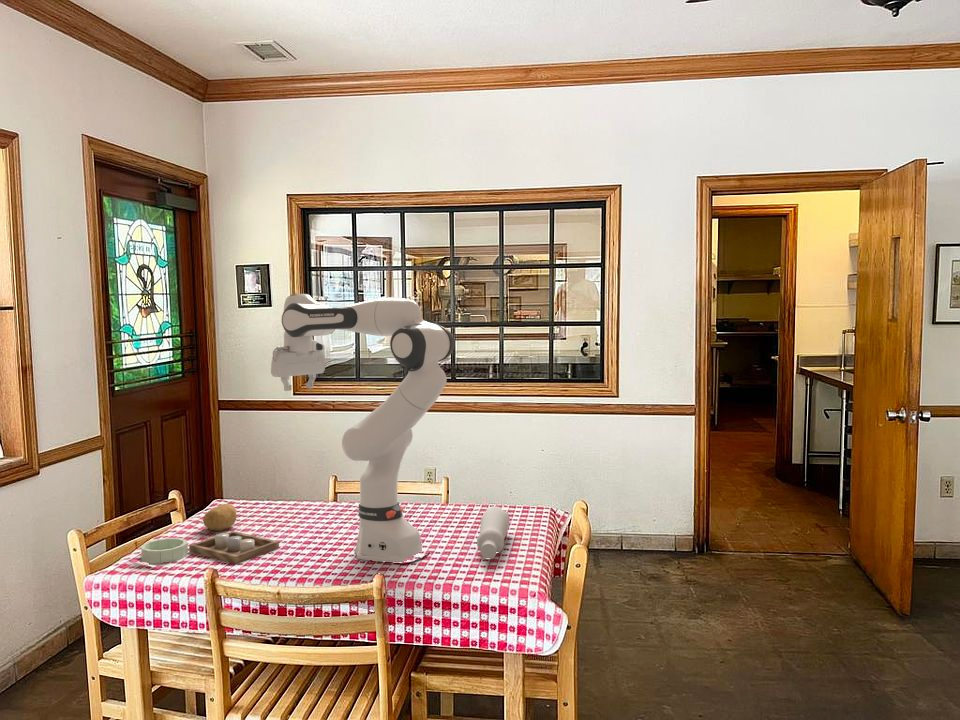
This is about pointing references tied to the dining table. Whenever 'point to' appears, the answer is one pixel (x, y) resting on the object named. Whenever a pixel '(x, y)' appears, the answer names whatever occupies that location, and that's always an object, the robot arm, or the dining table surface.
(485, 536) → the bottle
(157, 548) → the bowl
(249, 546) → the pebble
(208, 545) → the tray
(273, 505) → the dining table surface
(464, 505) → the dining table surface
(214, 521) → the potato
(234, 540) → the pebble
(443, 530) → the dining table surface
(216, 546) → the pebble
